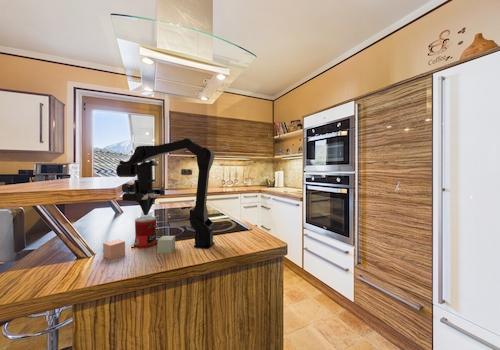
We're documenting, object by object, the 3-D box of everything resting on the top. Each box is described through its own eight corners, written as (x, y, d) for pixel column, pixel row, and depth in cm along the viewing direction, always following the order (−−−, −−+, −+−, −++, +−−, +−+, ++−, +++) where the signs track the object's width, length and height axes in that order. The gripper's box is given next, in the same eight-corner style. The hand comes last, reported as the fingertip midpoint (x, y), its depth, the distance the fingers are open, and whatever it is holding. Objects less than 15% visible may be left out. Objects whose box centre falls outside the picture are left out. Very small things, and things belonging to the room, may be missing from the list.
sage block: (175, 248, 86) (175, 235, 86) (171, 253, 81) (171, 240, 81) (162, 248, 86) (162, 236, 86) (157, 253, 81) (157, 240, 81)
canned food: (151, 248, 86) (150, 220, 85) (131, 248, 86) (130, 220, 86) (159, 241, 94) (159, 216, 93) (141, 241, 94) (141, 216, 93)
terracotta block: (125, 254, 80) (124, 241, 79) (110, 259, 75) (110, 245, 75) (117, 252, 82) (117, 239, 82) (103, 256, 78) (103, 243, 78)
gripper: (143, 176, 100) (144, 209, 100) (109, 178, 81) (110, 219, 82) (165, 176, 97) (165, 210, 98) (135, 178, 79) (136, 220, 80)
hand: (145, 215), depth 89 cm, fingers closed
